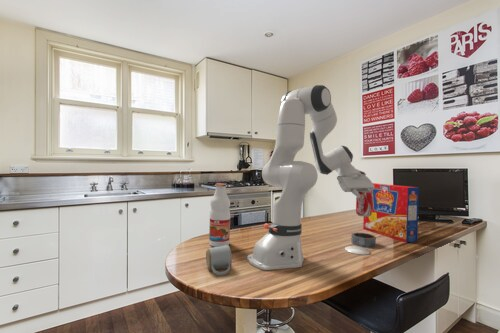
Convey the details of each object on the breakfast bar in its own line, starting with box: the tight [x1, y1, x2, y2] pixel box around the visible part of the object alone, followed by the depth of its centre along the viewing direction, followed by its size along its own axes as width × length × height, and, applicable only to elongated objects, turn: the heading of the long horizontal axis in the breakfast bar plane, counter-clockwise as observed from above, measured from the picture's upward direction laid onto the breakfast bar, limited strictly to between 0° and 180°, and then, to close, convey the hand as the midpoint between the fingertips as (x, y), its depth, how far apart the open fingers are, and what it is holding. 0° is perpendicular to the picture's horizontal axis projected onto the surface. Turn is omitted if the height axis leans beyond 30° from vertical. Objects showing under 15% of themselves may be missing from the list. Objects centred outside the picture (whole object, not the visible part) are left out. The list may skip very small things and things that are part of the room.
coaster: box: [344, 245, 371, 256], centre depth 112 cm, size 10×10×1 cm
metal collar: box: [350, 232, 377, 248], centre depth 123 cm, size 11×11×4 cm
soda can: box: [355, 191, 372, 218], centre depth 122 cm, size 7×7×12 cm
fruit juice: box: [208, 182, 231, 247], centre depth 116 cm, size 9×9×28 cm
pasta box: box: [362, 182, 420, 244], centre depth 141 cm, size 28×8×28 cm, turn 20°
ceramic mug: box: [205, 245, 233, 276], centre depth 88 cm, size 11×8×8 cm
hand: (365, 197), depth 122 cm, fingers closed on soda can, 6 cm apart
